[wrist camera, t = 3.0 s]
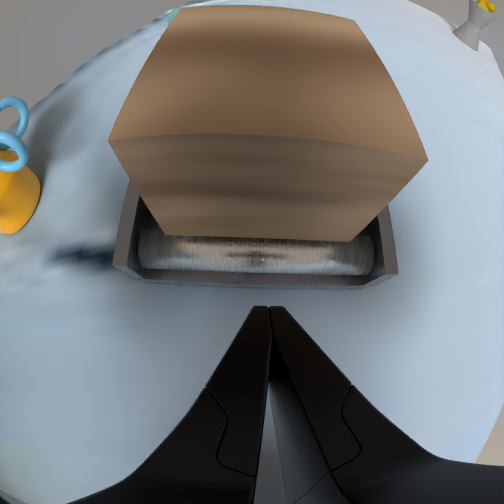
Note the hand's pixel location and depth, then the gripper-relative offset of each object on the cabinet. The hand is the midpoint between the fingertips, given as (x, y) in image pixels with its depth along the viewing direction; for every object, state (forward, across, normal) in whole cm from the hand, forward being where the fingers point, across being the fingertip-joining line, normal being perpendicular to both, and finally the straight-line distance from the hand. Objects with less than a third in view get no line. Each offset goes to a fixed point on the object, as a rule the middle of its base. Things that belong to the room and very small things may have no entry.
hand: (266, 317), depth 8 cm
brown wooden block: (+9, 0, -3) cm, 10 cm away
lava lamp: (+54, -58, -43) cm, 90 cm away
